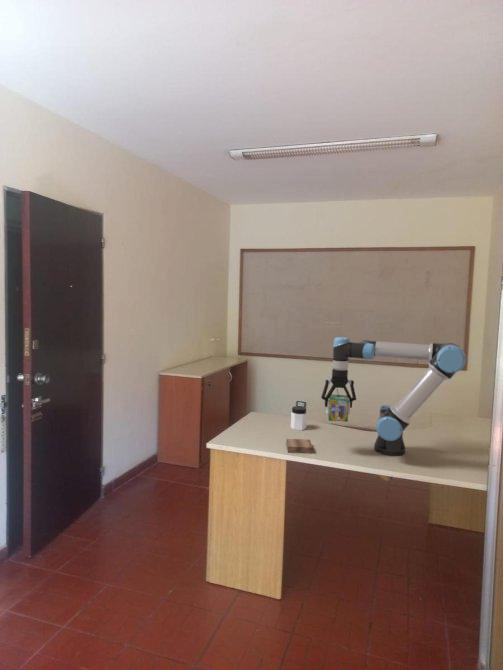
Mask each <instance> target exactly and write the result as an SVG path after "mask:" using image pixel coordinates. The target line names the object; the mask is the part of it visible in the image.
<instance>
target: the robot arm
mask: <svg viewBox="0 0 503 670" xmlns="http://www.w3.org/2000/svg"><path fill="white" fill-rule="evenodd" d="M332 348H333V349H332V365H331V367H332V370H331V378H330V379H325V380H324V381H325V382H324V383H325V384H324V387H323V390H322V394H321V396H320V398H321V400H324V407H325V408H326V414H327V415H329V398H330V396H331V394H333V393H334V391H335V390H336V389H343V390H344V392H345V393H346V394H345V395H347V396H348V399H349V401H348V416H350V413H351V411H350V410H351V408H352V407H353V402H354V401H357V395H356V392H355V386H354V383H355V381H354V380H353V379H348V376H349V358H351V359H352V358H353V359H362V360H373V359H374V357H382V358H395V359H406V360H418V361H428V368H427V369H426V370H425V371H424V372H423V374H422V375H420V377H419V378H418V379H417V380H416V382H414V384H413V385H412V386H411V387H410V388H409V389H408V390H407V392H406V393H405V394H404V395H403V396H402V398H400V400H399V401H397V403H396V404H395V405H392V404H391V405H389V404H383V405H380V409H379V417H378V420H377V422H376V425H375V426H376V427H375V428H376V433H377V437H376V439H375V442H374V446H373V448H374V451H375V452H377V453H379V454H382V455H387V456H393V457H398V456H402V455H405V454H406V446H405V442H404V437H403V435H404V431H405V430H406V429H407V427H408V426H410V424H411V418H412V417H413V415H414V414H415V413H416V412H417V411H418V410H419V409H420V408H421V406H422V405H424V403H425V402H426V401H427V400H428V399H429V398H430V397H431V395H432V394H434V392H435V391H436V390H437V389H438V388H439V387H440V386H441V385H442V384H443V382H444V381H445V380H452V377H453V376H454V375H455V374H456V373H458V372H460V371H461V370H462V369H463V368H464V366H465V365H466V361H467V358H466V353H465V351H464V350H463V349H462V348H461V347H460V345H458V344H456V343H453V342H437V343H436V342H432V343H430V344H419V343H405V342H394V341H393V342H389V341H378V340H377V341H374V340H369V339H363V340H361V341H359V342H352V341H351V340H350V338H349V337H344V336H343V337H341V336H338V337H334V339H333V346H332ZM330 383H332V385H331V387H330V389H329V390H328V388H329V386H330ZM347 384H349V387H350V391H351V393H350V392H349V390H348V388H347ZM327 391H328V392H327Z"/></svg>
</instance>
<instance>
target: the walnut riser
mask: <svg viewBox="0 0 503 670" xmlns="http://www.w3.org/2000/svg"><path fill="white" fill-rule="evenodd" d="M285 445H286V449H287V453H292V454H313V452H314V450H313V449H314V447H313V444H312V441H311V439H300V438H286V442H285Z"/></svg>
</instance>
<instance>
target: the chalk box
mask: <svg viewBox="0 0 503 670" xmlns="http://www.w3.org/2000/svg"><path fill="white" fill-rule="evenodd" d="M338 390H339V389H336V392H337V394H335V393H334V394H333V393H332V394H331V396H330V398H329V399H328V400H329V414H327V416H328V417H327V418H328V421H329V422H334V421H335V422H344V423H345V422H347V423H348V422H349V421H348V420H349V418H348V417H349V415H348V401H349V398H348V396H347V394H339V391H338Z"/></svg>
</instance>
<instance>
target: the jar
mask: <svg viewBox="0 0 503 670" xmlns="http://www.w3.org/2000/svg"><path fill="white" fill-rule="evenodd" d="M290 412H291V413H290V428H291V429H292V430H295V431H304V430H306V429H307V421H308V420H307V418H308V417H307V416H308V413H307V407H305V406H300V405H296V406H292V407H291V411H290Z"/></svg>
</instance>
